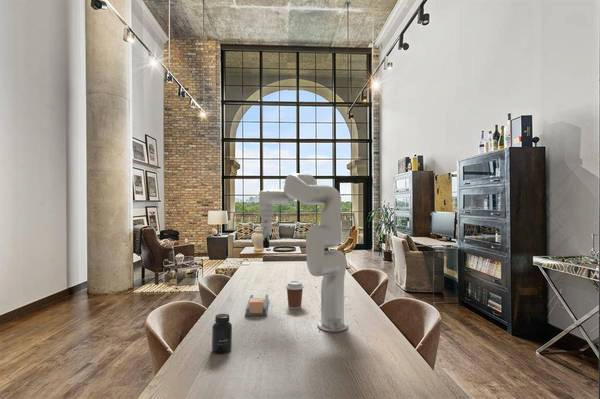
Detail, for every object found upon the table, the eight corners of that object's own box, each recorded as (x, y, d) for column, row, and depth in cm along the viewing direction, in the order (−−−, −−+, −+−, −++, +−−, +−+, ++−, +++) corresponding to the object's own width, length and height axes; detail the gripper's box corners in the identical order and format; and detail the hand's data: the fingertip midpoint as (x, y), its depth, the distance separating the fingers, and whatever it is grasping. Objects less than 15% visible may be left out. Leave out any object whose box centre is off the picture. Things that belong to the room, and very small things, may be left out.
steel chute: (266, 316, 150) (266, 308, 150) (244, 316, 149) (244, 308, 149) (269, 301, 172) (269, 294, 172) (249, 301, 171) (249, 294, 171)
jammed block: (262, 313, 150) (262, 302, 150) (249, 313, 150) (249, 302, 150) (263, 308, 156) (263, 298, 156) (250, 308, 156) (250, 298, 156)
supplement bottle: (221, 356, 111) (221, 320, 112) (207, 351, 115) (207, 316, 115) (235, 348, 117) (236, 314, 117) (222, 344, 121) (222, 311, 121)
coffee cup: (288, 310, 158) (288, 285, 158) (283, 304, 166) (283, 281, 166) (306, 308, 161) (306, 283, 161) (300, 303, 169) (300, 279, 169)
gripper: (272, 214, 169) (272, 250, 169) (273, 213, 184) (273, 246, 184) (258, 214, 169) (257, 250, 169) (260, 213, 184) (260, 246, 184)
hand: (266, 247), depth 177 cm, fingers closed
